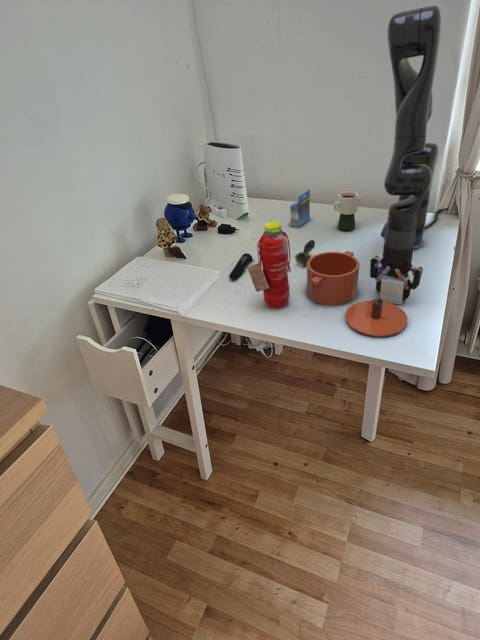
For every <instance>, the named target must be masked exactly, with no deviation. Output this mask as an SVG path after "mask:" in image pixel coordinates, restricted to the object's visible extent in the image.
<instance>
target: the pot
mask: <svg viewBox="0 0 480 640" xmlns="http://www.w3.org/2000/svg"><path fill="white" fill-rule="evenodd" d="M314 255H315V256H314ZM314 255H313V257H312V256H310V257H311V258H310V259H309V260H308V262H307V264H306V294H307V296H308V297H309V299H311V301H313V302H315V303H317V304H319V305H320V304H321V305H325V306H340V305H342V306H343V305H345V304H348V303H350V302H352V301H353V300H355V298H356V297H357V296H358V291H359V290H358V289H359V277H360V275H359V274H360V266H361V265H360V262H359V260H358V259H357V258H356V257H355V256H354V252H352V251H348V250H346V251H344V252H340V251H326V252H320V253H317V254H314Z"/></svg>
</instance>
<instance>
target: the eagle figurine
mask: <svg viewBox="0 0 480 640" xmlns="http://www.w3.org/2000/svg"><path fill="white" fill-rule="evenodd" d="M315 246H316V241H315V240H314V239H310V240H309V241H308V242H306V244H304V246H303V251H300V252H298V253H296V254H295V255H294V258H295V259H299V258H300V259H301V261H300V262H301V263H303V267H304V268H305V267H306V266H307V262H308V260H309V259H310V258H311V257H313V256H315V255H316V254H313V256H310V252H312V250H313V249H314V248H315Z"/></svg>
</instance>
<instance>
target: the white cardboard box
mask: <svg viewBox="0 0 480 640" xmlns="http://www.w3.org/2000/svg"><path fill="white" fill-rule="evenodd" d="M404 283H405V282H401V281H400V279H398V278H395V277H393V276H388V275H387V274H386V275H385V276H384V277H383V278H382V280H381V291H380V293H379V299H382V300H383V301H385V302H389V303H392V304H394V305H399V306H401V305H402V303H403V300H402V297H403V290H404Z"/></svg>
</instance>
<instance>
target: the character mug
mask: <svg viewBox="0 0 480 640" xmlns="http://www.w3.org/2000/svg"><path fill="white" fill-rule="evenodd" d="M361 205H362V197H361V196H359V194H358V192H356V191H342V192H339V193H338V195H337V201H335V202H334V203H333V210H334V212H338V213H339V218H338V224H337V228H338V229H340V230H343V231H351V230H354V229H355V228H356V219H355V217H356V216H355V214H357V212H358V207H360V206H361Z"/></svg>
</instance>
